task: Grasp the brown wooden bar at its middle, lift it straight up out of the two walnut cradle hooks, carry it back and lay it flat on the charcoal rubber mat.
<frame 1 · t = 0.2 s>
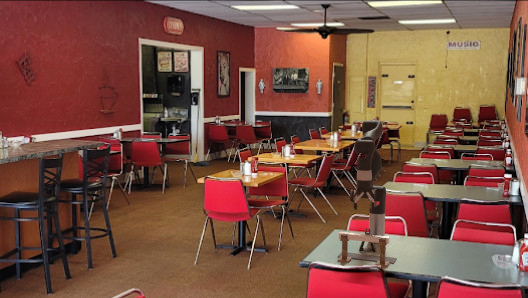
hand: (363, 209, 295), 28 cm above the table, tool pointing down, fingers open, 8 cm apart
brown wooden bar: (363, 240, 297), point 12 cm above the table, touching rail stand
door stopper: (367, 250, 321), on the table
rail mat: (366, 258, 306), on the table
rail stand: (363, 262, 298), on the table
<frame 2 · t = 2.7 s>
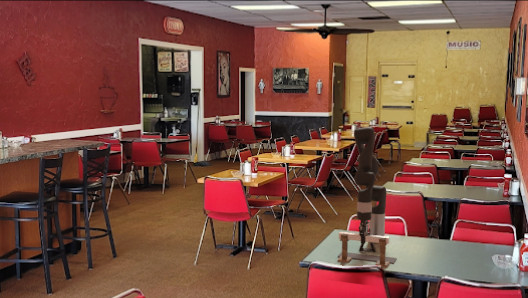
hand: (363, 242, 297), 11 cm above the table, tool pointing down, fingers closed on brown wooden bar, 3 cm apart
brown wooden bar: (363, 240, 297), point 12 cm above the table, touching gripper, rail stand
everything else where it was.
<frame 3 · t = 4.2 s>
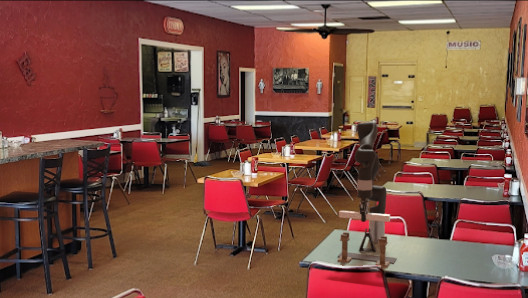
hand: (364, 220, 295), 22 cm above the table, tool pointing down, fingers closed on brown wooden bar, 3 cm apart
brown wooden bar: (364, 218, 295), point 24 cm above the table, touching gripper
everything else where it was.
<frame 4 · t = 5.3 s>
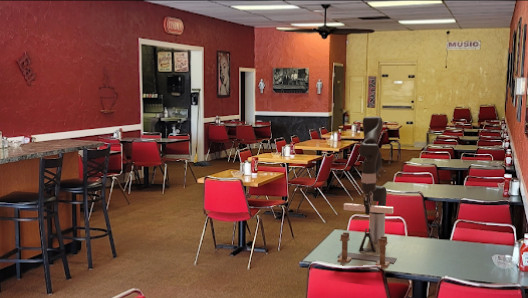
hand: (368, 213, 304), 25 cm above the table, tool pointing down, fingers closed on brown wooden bar, 3 cm apart
brown wooden bar: (368, 211, 303), point 26 cm above the table, touching gripper
everything else where it was.
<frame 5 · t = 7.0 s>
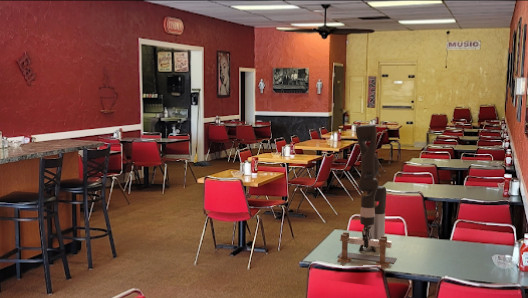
hand: (366, 246, 305), 6 cm above the table, tool pointing down, fingers closed on brown wooden bar, 3 cm apart
brown wooden bar: (366, 244, 305), point 7 cm above the table, touching gripper
everything else where it was.
when the fingers open (2 cm above the table, at t = 8.3 s): brown wooden bar drops 2 cm, resting on rail mat.
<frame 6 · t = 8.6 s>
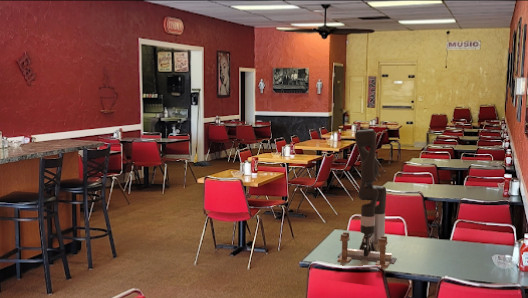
hand: (367, 254, 306), 2 cm above the table, tool pointing down, fingers open, 5 cm apart
brown wooden bar: (366, 256, 306), point 1 cm above the table, touching rail mat
everything else where it was.
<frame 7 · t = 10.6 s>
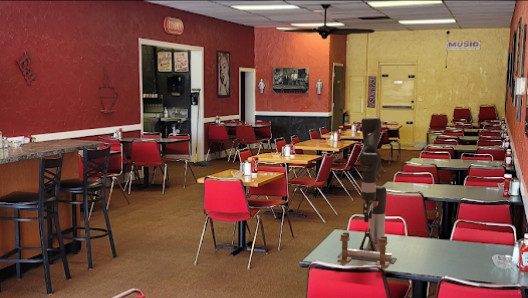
hand: (368, 220, 304), 21 cm above the table, tool pointing down, fingers open, 8 cm apart
nothing on the table moved.
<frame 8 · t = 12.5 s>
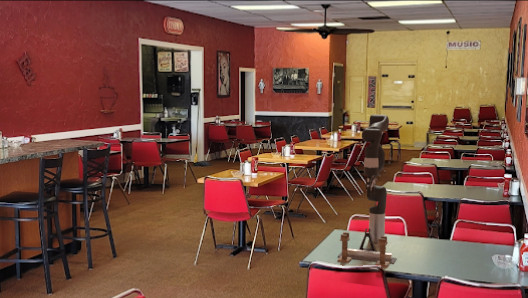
hand: (370, 195, 308), 33 cm above the table, tool pointing down, fingers open, 8 cm apart
nothing on the table moved.
at the end: brown wooden bar 0.2 cm off-centre on the rail mat, point 0.6 cm above the rail mat's base; brown wooden bar touching rail mat; the gripper is holding nothing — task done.
